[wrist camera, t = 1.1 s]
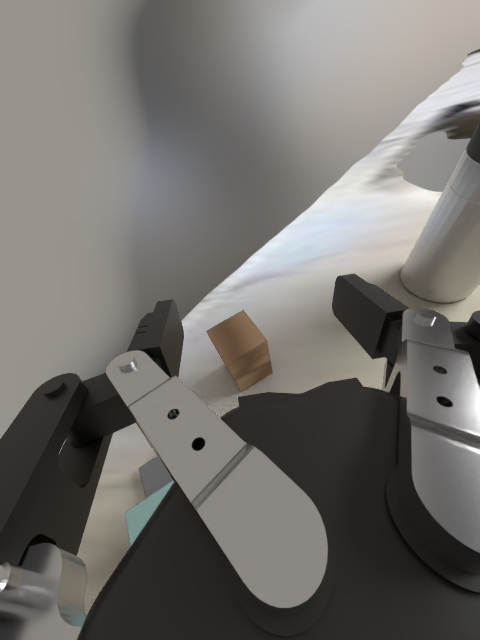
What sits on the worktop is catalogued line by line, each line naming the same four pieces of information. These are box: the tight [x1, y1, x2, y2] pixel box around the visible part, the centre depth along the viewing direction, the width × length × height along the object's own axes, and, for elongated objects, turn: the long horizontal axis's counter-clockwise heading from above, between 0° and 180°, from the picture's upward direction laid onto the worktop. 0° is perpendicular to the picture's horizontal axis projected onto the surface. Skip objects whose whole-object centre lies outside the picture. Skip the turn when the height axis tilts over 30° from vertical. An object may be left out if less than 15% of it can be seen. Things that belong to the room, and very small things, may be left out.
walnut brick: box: [206, 310, 272, 392], centre depth 29 cm, size 5×5×9 cm
